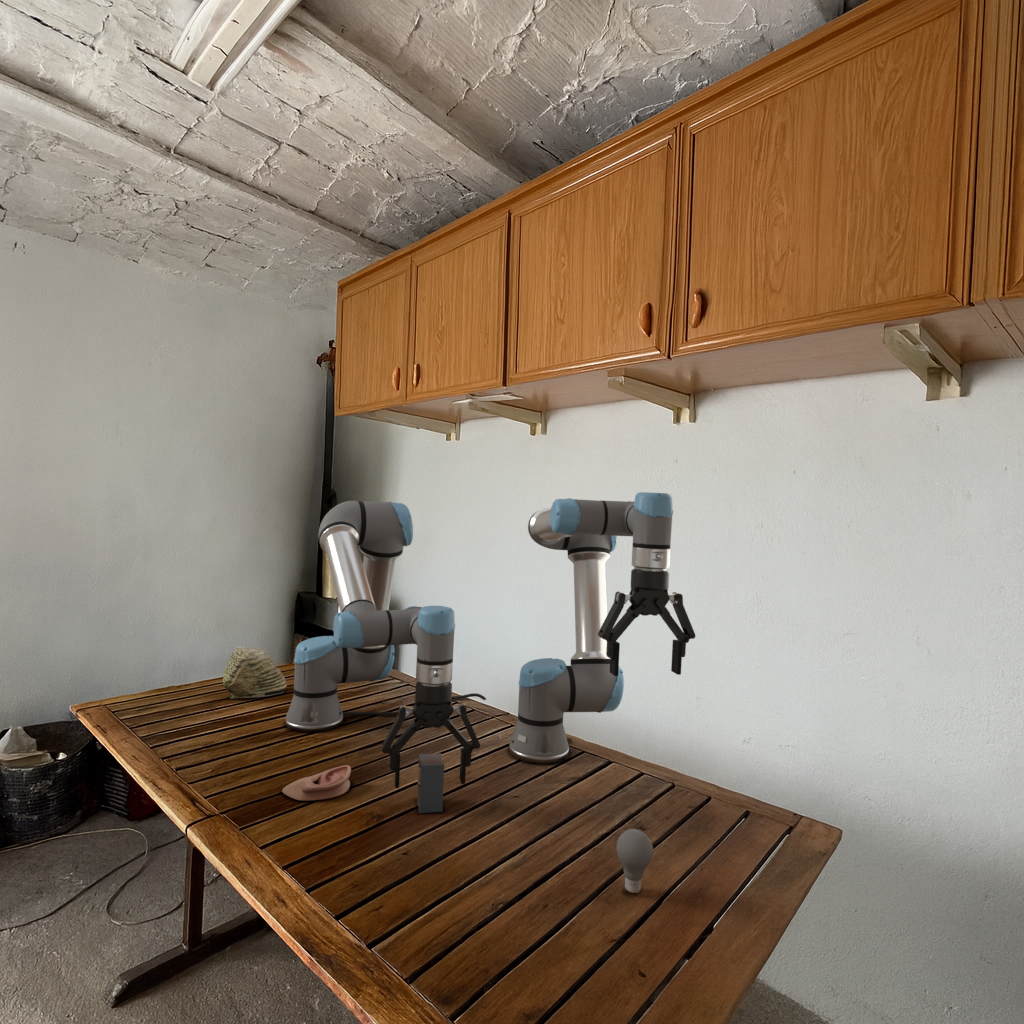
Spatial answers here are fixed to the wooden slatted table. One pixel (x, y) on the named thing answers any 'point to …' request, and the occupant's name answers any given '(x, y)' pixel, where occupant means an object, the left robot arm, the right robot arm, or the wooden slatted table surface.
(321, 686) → the left robot arm
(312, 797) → the anatomical model
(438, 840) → the wooden slatted table surface
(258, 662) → the fossil
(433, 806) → the brick
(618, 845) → the light bulb
